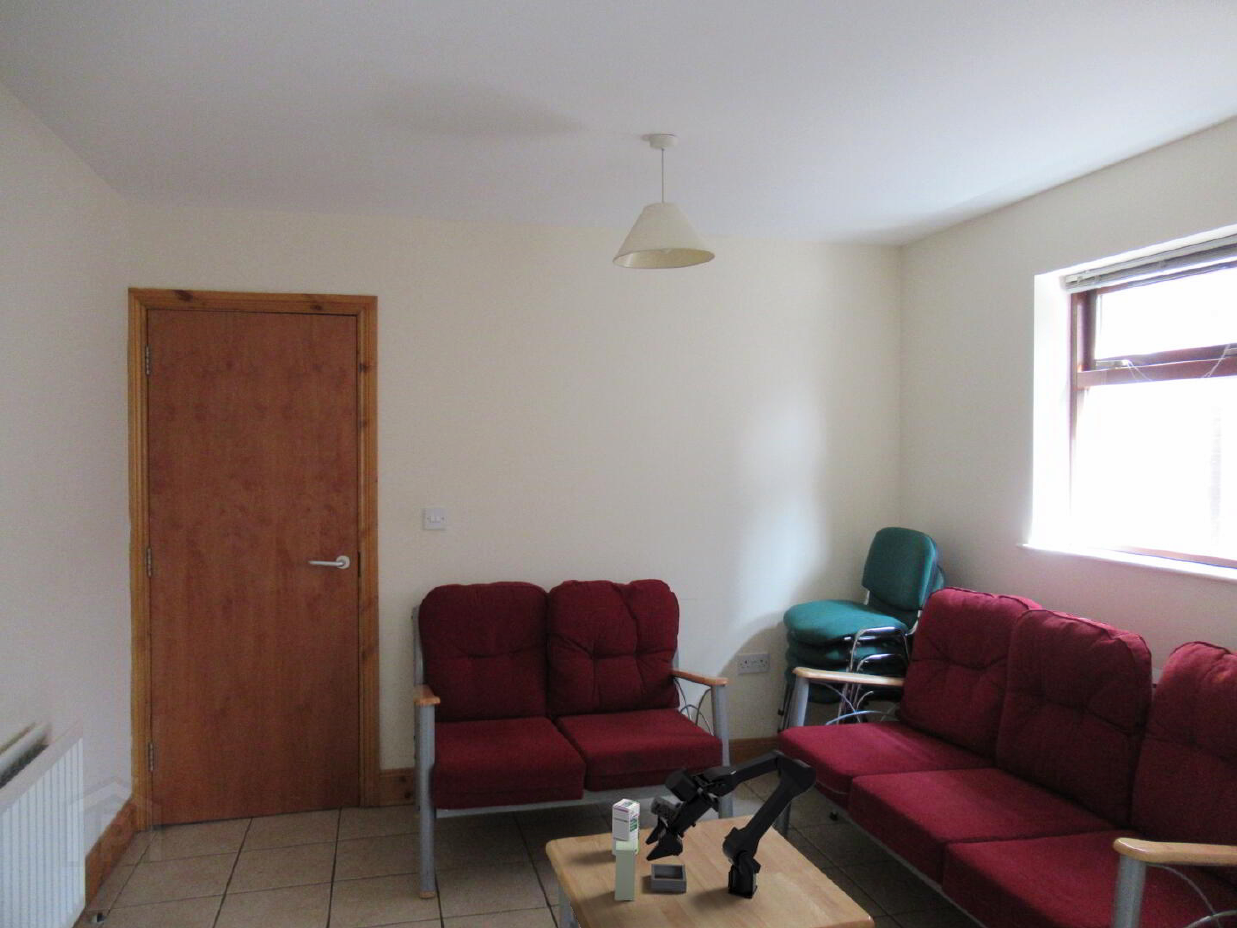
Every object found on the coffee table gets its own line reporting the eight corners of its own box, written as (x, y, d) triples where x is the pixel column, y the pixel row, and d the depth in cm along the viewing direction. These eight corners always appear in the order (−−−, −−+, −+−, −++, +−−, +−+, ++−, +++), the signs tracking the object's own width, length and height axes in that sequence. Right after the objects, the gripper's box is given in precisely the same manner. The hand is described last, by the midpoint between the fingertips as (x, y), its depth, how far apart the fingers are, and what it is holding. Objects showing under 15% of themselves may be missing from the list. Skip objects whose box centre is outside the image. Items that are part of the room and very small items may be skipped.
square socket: (684, 875, 242) (684, 864, 242) (686, 892, 233) (686, 881, 233) (650, 874, 242) (651, 863, 242) (651, 891, 233) (651, 879, 233)
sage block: (634, 891, 233) (635, 841, 233) (634, 900, 228) (635, 850, 228) (615, 890, 233) (616, 841, 233) (614, 900, 228) (616, 849, 228)
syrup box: (628, 860, 251) (630, 808, 250) (611, 854, 254) (612, 803, 253) (639, 852, 255) (640, 802, 255) (621, 847, 259) (622, 797, 258)
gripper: (668, 774, 239) (625, 813, 240) (671, 801, 221) (625, 844, 221) (696, 804, 239) (654, 844, 240) (702, 834, 221) (655, 877, 221)
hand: (646, 851), depth 230 cm, fingers open, 9 cm apart
